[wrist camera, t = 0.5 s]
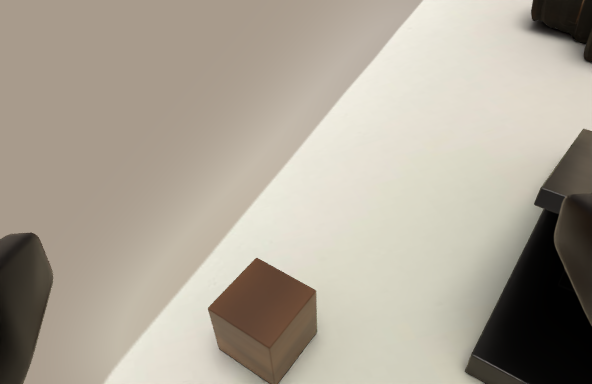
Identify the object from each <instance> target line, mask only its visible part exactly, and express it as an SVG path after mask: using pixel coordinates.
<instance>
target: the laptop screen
mask: <svg viewBox="0 0 592 384" xmlns="http://www.w3.org/2000/svg"><path fill="white" fill-rule="evenodd" d="M582 193H592V131H589V130H586V129H583V130H582V131H581V133H580V134H579V135H578V137H577V138H576V140H575V141H574V142H573V144H572V145H571V147H570V148H569V149H568V151H567V152H566V154H565V155H564V156H563V158H562V159H561V161H560V162H559V163H558V165H557V166H556V168H555V169H554V170H553V172H552V173H551V175H550V176H549V177H548V179H547V180H546V182H545V183H544V184H543V186H542V187H541V189H540V191H539V193H538V196H537V198H536V200H535V203H534V205H536V206H539V207H541V208H544V209H546V210H549V211H552V212H554V213H557V214H559V213H560V209H561V206H562V202H563V200H564V199H565V197H566V196H568V195H570V194H582Z"/></svg>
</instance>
